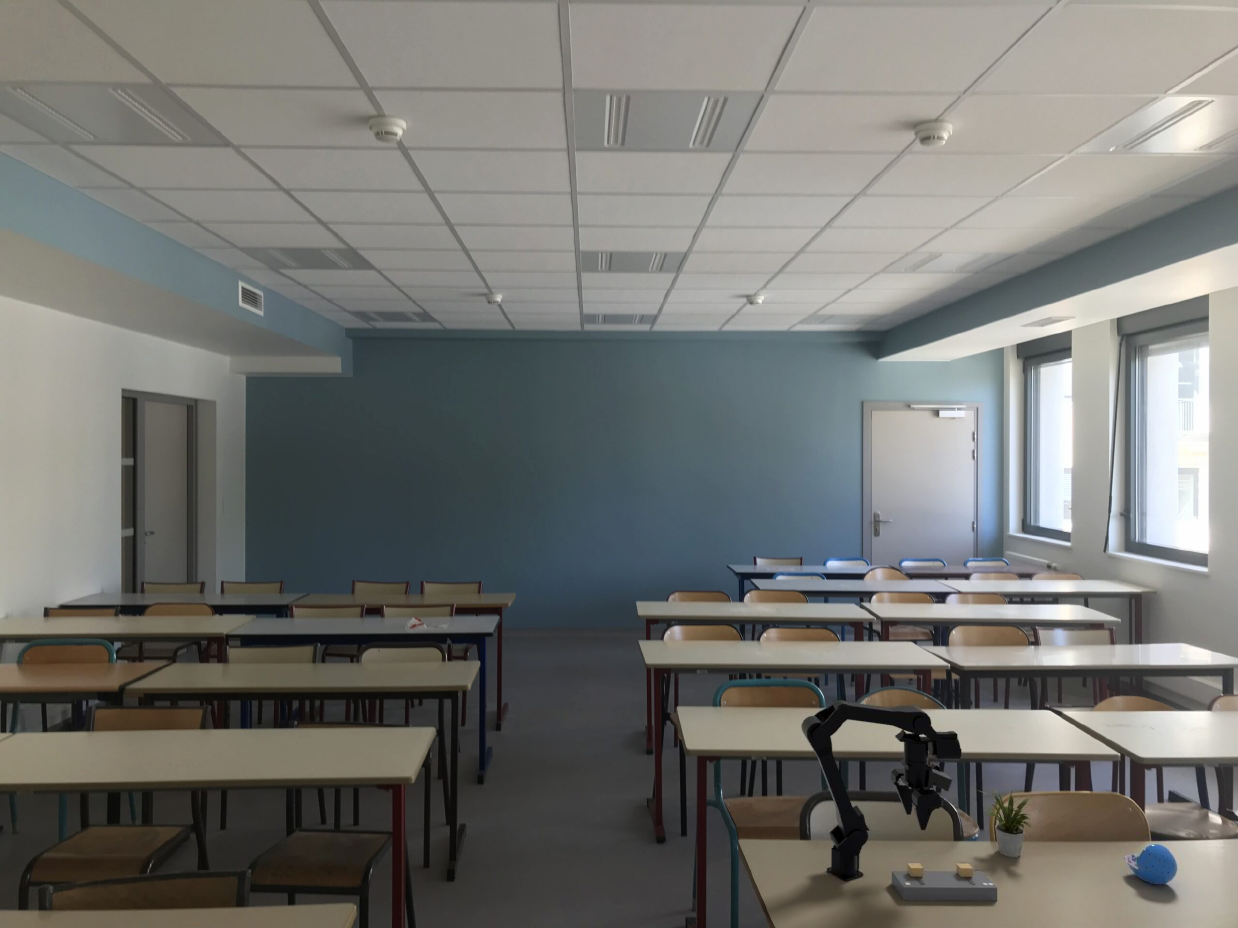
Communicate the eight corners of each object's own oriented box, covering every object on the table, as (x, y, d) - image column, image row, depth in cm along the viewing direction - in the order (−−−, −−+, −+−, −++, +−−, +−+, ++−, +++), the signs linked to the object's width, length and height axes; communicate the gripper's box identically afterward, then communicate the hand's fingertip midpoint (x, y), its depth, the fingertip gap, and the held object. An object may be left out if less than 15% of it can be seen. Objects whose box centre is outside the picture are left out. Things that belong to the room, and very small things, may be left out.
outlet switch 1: (911, 876, 193) (911, 867, 193) (907, 871, 196) (907, 863, 196) (923, 876, 193) (923, 867, 193) (919, 871, 196) (919, 863, 196)
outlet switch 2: (960, 876, 194) (960, 867, 194) (956, 871, 196) (956, 863, 196) (973, 876, 194) (973, 868, 194) (968, 871, 196) (968, 863, 196)
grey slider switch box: (903, 900, 188) (903, 886, 188) (891, 883, 196) (891, 870, 196) (997, 900, 189) (997, 886, 189) (981, 883, 197) (981, 870, 197)
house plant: (973, 856, 211) (973, 793, 211) (976, 836, 223) (977, 777, 224) (1034, 869, 204) (1034, 804, 205) (1034, 847, 217) (1034, 786, 217)
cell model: (1148, 867, 206) (1148, 830, 206) (1188, 891, 194) (1188, 851, 194) (1113, 870, 205) (1113, 831, 205) (1151, 894, 193) (1150, 853, 193)
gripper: (964, 772, 192) (964, 838, 192) (932, 746, 211) (932, 807, 211) (918, 772, 192) (918, 838, 192) (890, 746, 211) (890, 806, 210)
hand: (915, 821), depth 201 cm, fingers open, 9 cm apart
